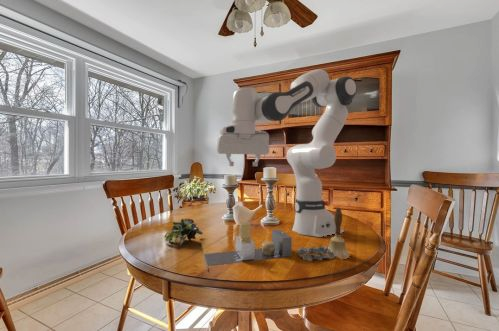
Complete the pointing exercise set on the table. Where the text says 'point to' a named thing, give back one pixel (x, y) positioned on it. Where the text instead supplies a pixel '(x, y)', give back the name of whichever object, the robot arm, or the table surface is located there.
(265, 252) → the hazelnut
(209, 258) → the press base
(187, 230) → the passion flower
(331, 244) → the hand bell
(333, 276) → the table surface
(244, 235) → the block
